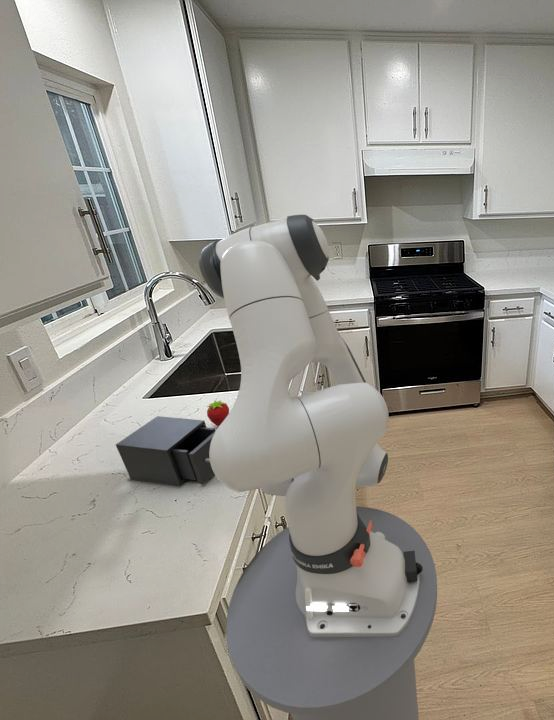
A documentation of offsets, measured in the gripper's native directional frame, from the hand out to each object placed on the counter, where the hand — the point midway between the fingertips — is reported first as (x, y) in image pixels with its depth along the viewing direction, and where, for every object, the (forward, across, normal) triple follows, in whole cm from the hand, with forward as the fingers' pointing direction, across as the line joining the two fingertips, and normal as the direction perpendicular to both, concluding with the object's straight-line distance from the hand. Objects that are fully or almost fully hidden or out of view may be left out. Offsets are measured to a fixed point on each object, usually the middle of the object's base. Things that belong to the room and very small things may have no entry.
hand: (265, 455), depth 93 cm
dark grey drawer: (+19, 0, +6) cm, 20 cm away
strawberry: (+27, -18, +7) cm, 33 cm away
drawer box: (+28, 0, +7) cm, 29 cm away
